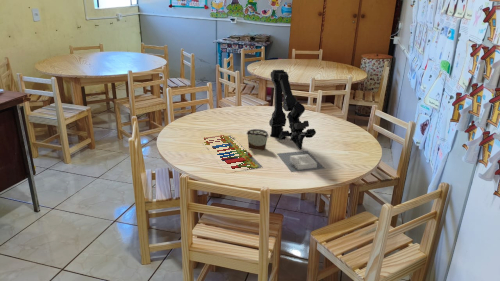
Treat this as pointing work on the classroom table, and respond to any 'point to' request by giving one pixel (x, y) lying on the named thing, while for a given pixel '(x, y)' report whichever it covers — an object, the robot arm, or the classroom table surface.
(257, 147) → the food container
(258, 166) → the multicolored flat board
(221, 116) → the classroom table surface
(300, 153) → the felt mat
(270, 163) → the classroom table surface
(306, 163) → the picture tile
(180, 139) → the classroom table surface
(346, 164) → the classroom table surface
